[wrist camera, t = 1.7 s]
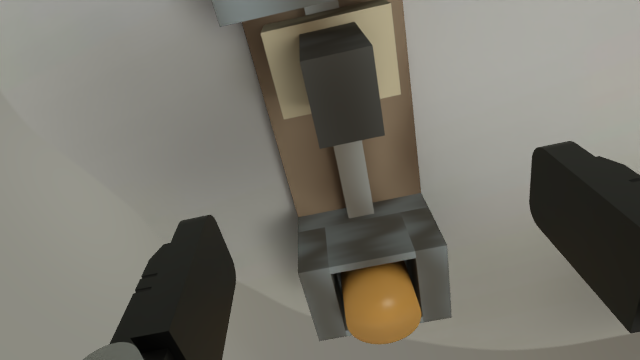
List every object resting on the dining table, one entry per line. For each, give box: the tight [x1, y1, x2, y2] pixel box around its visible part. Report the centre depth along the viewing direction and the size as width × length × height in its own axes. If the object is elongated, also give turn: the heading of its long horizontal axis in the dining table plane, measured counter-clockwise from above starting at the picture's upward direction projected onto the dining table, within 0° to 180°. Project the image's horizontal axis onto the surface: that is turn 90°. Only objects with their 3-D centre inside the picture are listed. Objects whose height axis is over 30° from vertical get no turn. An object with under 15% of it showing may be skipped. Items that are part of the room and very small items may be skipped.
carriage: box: [261, 0, 401, 149], centre depth 21 cm, size 7×5×8 cm
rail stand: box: [212, 0, 452, 341], centre depth 27 cm, size 10×28×8 cm, turn 12°
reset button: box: [341, 261, 421, 344], centre depth 29 cm, size 5×5×4 cm
